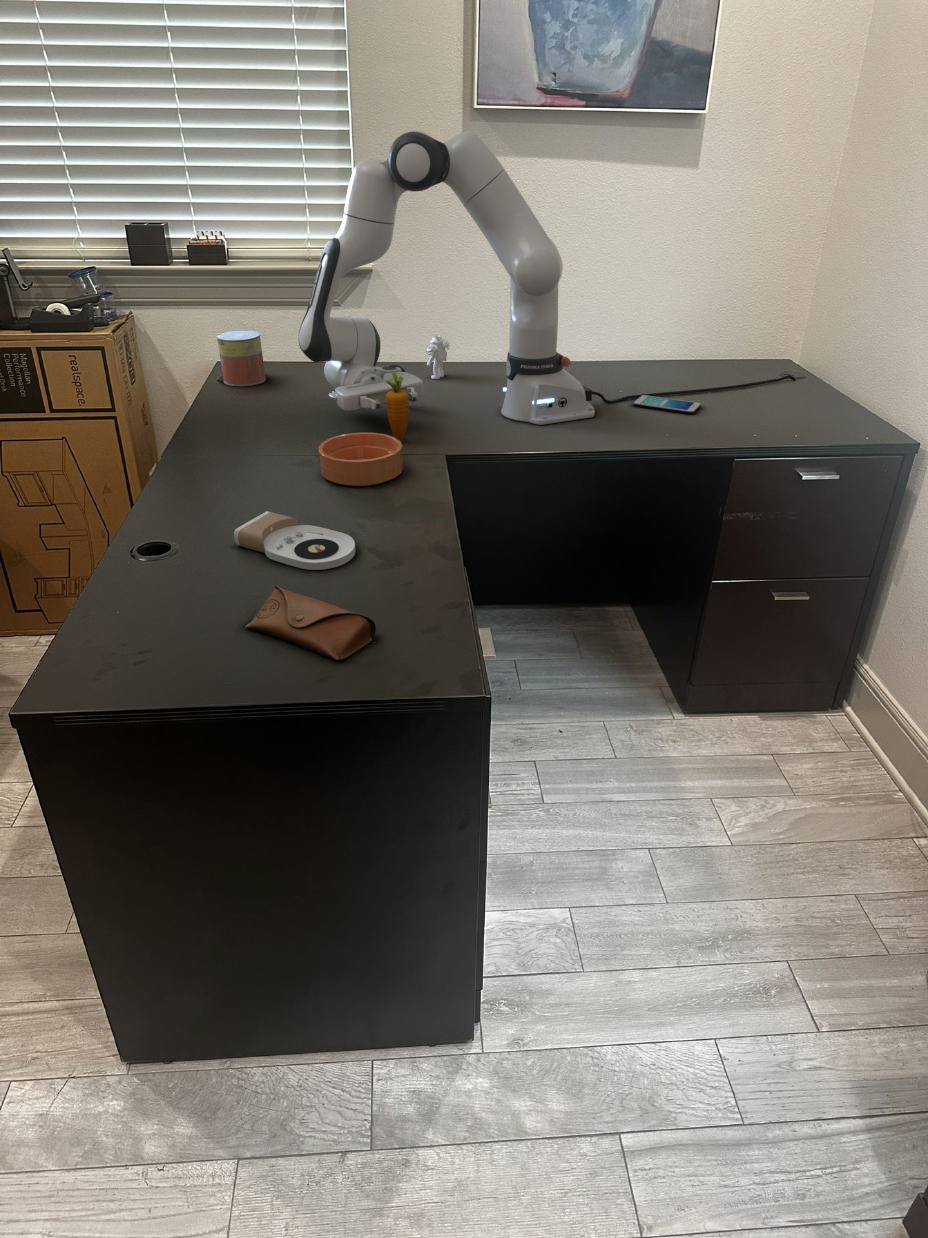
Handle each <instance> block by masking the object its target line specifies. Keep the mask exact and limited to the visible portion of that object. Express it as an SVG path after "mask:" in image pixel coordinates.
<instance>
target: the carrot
mask: <svg viewBox="0 0 928 1238" xmlns="http://www.w3.org/2000/svg"><path fill="white" fill-rule="evenodd" d="M392 375H393V378H394V381H395V383H394V382H391V381H388V380H387V381H386V383H387V384H389V385H390V386H391V387H392V388H393V390H392V391H389V392H388V393H387V394H386V402H387V404H386V410H387V418H388V422H389V426H390V430H391V431H392V434H393V437H395V438H396V439H398V440H399V441H401V442H402V441H403V439H404V437H405V435H406V431H407V428H408V423H409V400H408V395H407V393H406V392H405V391H403V390H400V387H401V384H402V377H401V376H399V379H398V377H397V375H396V373H392ZM395 384H396V385H395Z"/></svg>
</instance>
